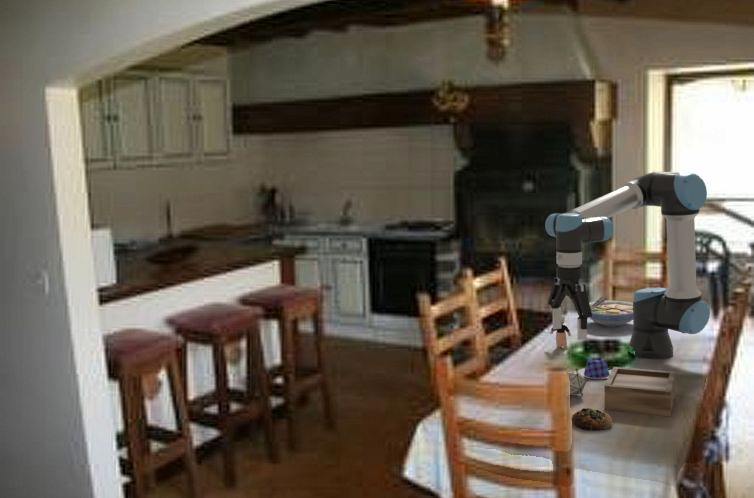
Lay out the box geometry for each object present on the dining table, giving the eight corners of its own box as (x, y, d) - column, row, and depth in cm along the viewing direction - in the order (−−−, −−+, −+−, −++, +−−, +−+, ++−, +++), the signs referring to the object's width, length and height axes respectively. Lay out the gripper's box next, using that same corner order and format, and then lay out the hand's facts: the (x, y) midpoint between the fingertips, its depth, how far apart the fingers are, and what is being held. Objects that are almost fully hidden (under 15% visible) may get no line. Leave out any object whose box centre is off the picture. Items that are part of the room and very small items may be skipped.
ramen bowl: (631, 335, 297) (631, 314, 296) (573, 329, 309) (573, 309, 308) (648, 320, 317) (648, 300, 316) (593, 314, 330) (593, 296, 329)
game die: (578, 408, 237) (589, 389, 230) (551, 398, 238) (562, 379, 231) (582, 386, 243) (593, 367, 236) (556, 376, 244) (566, 357, 237)
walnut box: (613, 388, 241) (613, 366, 240) (675, 394, 234) (675, 371, 232) (604, 409, 225) (604, 385, 224) (670, 416, 217) (670, 391, 216)
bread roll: (568, 428, 213) (569, 410, 212) (574, 419, 223) (575, 402, 223) (609, 435, 208) (610, 416, 208) (614, 425, 218) (615, 407, 218)
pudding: (601, 367, 263) (601, 352, 262) (623, 377, 252) (623, 362, 251) (570, 372, 260) (570, 357, 259) (591, 383, 248) (590, 367, 248)
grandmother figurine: (571, 347, 286) (571, 314, 284) (571, 350, 283) (570, 316, 280) (550, 346, 289) (550, 313, 287) (549, 349, 285) (549, 315, 283)
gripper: (536, 260, 243) (537, 326, 246) (582, 273, 219) (582, 345, 222) (557, 258, 245) (557, 323, 248) (604, 270, 222) (604, 342, 225)
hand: (569, 334), depth 235 cm, fingers open, 13 cm apart
